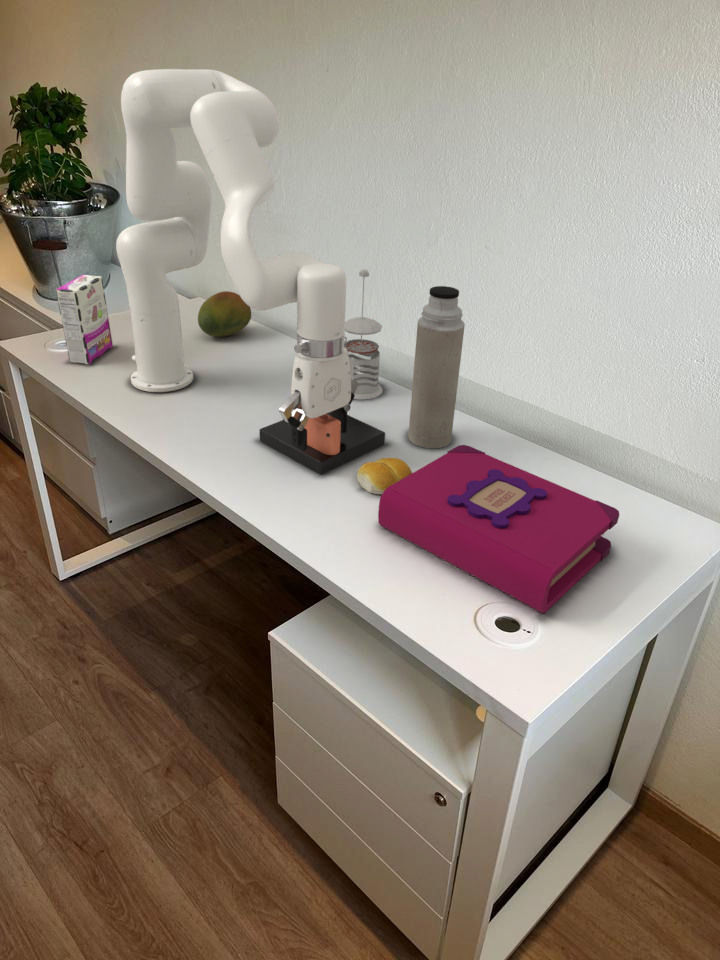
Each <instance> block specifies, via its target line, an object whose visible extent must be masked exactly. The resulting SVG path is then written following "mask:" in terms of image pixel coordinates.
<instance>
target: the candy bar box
mask: <svg viewBox="0 0 720 960" xmlns="http://www.w3.org/2000/svg"><path fill="white" fill-rule="evenodd" d="M55 294H56V299H57V303H58V309H59V315H60V319H61V323H62V328H63V330H62V331H63V335H64V340H65V344H66V350H67V356H68V360H69V363H71V364H72V363H73V364H79V365H91V364H93V363H94V362H95V361H96V360H97V359H99V358H100V357H102V356H103V355H104V354H106V353H107V352H108V351H109V350H111V349H112V348H113V347H114V344H113V337H112V331H111V326H110V319H109V313H108V307H107V301H106V294H105V288H104V281H103V276H101V275H94V274H81V275H80V276H77V277H76V278H74V279H72V280H70V281H69V282H67V283H65V284H63V285H61V286H59V287H58V288H55Z"/></svg>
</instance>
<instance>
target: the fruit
mask: <svg viewBox="0 0 720 960" xmlns="http://www.w3.org/2000/svg"><path fill="white" fill-rule="evenodd" d="M251 320H252V308H251V307H249V306H248V305H247V304H246V303H245V302H244V301H243V300H242V298H241V297H240V295H239V294H238V293H236V292H233V291H228V290H227V291H226V290H225V291H219V292H217V293H215V294H213V295H211V296H210V297H208V298H207V299H206V300H205V301H204V302H203V303H202V304H201V306H200V308H199V311H198V314H197V323H198V326H199V329H200V330H201V331H202V332H203V333H205V334H206V335H208V336H210V337H215V338H224V337H229V336H232V335H236V334H237V333H240V332H241V331H242V330H244V329H245V328H246V327H247V326H248V325H249V323H250V321H251Z"/></svg>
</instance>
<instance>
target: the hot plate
mask: <svg viewBox="0 0 720 960" xmlns="http://www.w3.org/2000/svg"><path fill="white" fill-rule="evenodd" d="M301 417H302V414H301V413H300V415H299V417H298V419H297V420H298V421H300V419H301ZM258 431H259V442H260V443H261V444H264V445H265V446H267V447H269V448H271V449H273V450H275V451H276V452H277V453H280V454H283V455H284V456H285V457H287V458H290V459H291V460H293V461H294V462H296V463H298V464H301V466H304V467H305V468H307V469H309V470H311V471H313V472H315V473H317V474H318V475H320V476H322V475H324V474H326V473H328V472H330V471H332V470H334V469H336V468H339V467H341V466H343V465H344V464H347V463H348V462H351V461H353V460H355V459H357V458H359V457H361V456H363V455H366V454H368V453H370V452H371V451H374V450H376V449H378V448H380V447H382V446H385V443H386V432H385V431H383V430H380V429H379V428H377V427H374V426H373V425H370V424H368V423H367V422H364V421H362V420H359V419H358V418H355V417H354V416H351V415H349V414H347V432H346V433H341V434H340V452H339V453H338V454H335V455H327V454H324V453H322V452H320V451H318V450H316V449H314V448H312V447H311V446H309V445H307V450H305V451H302V450H300V449H298V448H297V447H295V446H293V445H292V426H290V425H288V423H286V422H285V421H284V420H283V419H282V420H280V421H277V422H275V423H272V424H269V425H266V426H264V427H261V428H259V430H258Z"/></svg>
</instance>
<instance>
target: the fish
mask: <svg viewBox="0 0 720 960" xmlns="http://www.w3.org/2000/svg"><path fill="white" fill-rule="evenodd" d="M302 415H303V414H302ZM304 428H305V429H307V445H309V446H311V447H312V448H314V449H316V450H318V451H320V452H322V453H324V454H327V455H335V454H338V453H339V452H340V434H341V431H342V429H341V422H340V421H339V420H338V419H336V418H334V417H331V416H329V415H327V414H324V415H322V416H319V417H317V418H309V419H308V421H307V423H306V425H305V427H304Z"/></svg>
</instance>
